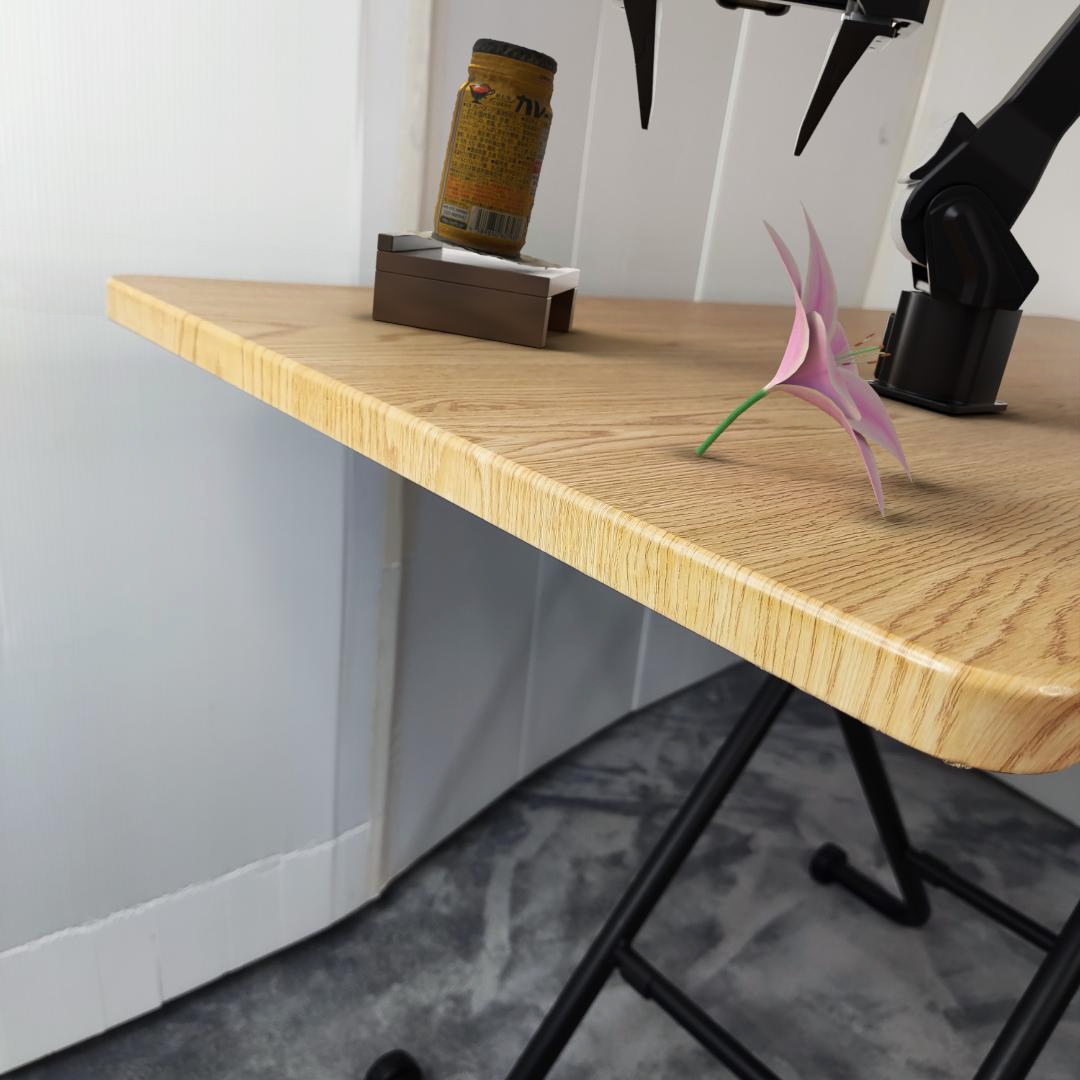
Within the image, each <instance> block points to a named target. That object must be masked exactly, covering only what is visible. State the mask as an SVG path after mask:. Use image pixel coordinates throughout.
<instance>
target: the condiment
mask: <svg viewBox="0 0 1080 1080" xmlns="http://www.w3.org/2000/svg"><path fill="white" fill-rule="evenodd" d="M557 72H558V62H557V61H556V59H555V58H554V57H552V56H550V55H548V54H546V53H544V52H540V51H538V50H535V49H532V48H528V47H526V46H521V45H518V44H514V43H511V42H507V41H504V40H496V39H492V38H484V37H483V38H478V39H477V40H476V41H475V42H474V44H473V45H472V53H471V58H470V64H469V65H468V66H467V74H468V76H467V77H468V78H467V80H465V82H464V83H463V84H462V85H461V86H460V87H459V89H458V91H457V94H456V100H455V103H454V110H453V112H452V120H451V122H450V132H449V136H448V141H447V147H446V149H445V157H444V161H443V168H442V171H441V177H440V183H439V184H438V186H439V190H438V193H437V201H436V204H435V207H434V213H433V232H432V234H429V233H421V232H422V231H419V230H416V229H415V230H412V229H406V228H405V229H403V228H402V229H400V230H402V231H405V232H410V233H413V234H416V235H419V236H421V237H424V238H427V239H430V240H433V241H436V242H440V243H443V244H445V245H447V246H451V247H453V248H454V247H456V248H461V249H463V250H464V251H467V252H472V253H477V254H479V255H484V256H491V257H497V258H499V259H500V260H506V261H510V262H513V263H517V264H520V265H526V266H532V267H544V268H545V270H546V269H548V268H557V269H560V268H566V267H567V266H562V265H561V264H558V263H553V262H552V263H551V262H549V261H547V260H545V259H541V258H538V257H533V256H531V255H527V254H523V253H521V251H522V249H523V248H524V246H525V245H526V242H527V241H526V239H527V234H528V231H529V229H528V228H529V225H530V223H531V217H532V212H533V208H534V205H535V198H536V194H537V190H538V187H539V181H540V176H541V171H542V167H543V162H544V160H545V155H546V150H547V146H548V140H549V136H550V131H551V126H552V122H553V118H554V111H553V108H552V106H551V101H552V97H553V95H554V94H553V93H554V87H555V85H554V81H555V75H556V74H557Z"/></svg>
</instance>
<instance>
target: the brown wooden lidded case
mask: <svg viewBox="0 0 1080 1080" xmlns="http://www.w3.org/2000/svg"><path fill="white" fill-rule="evenodd" d="M420 232H421V233H429V234H432V232H434V230H433V231H431V230H430V231H429V230H428V231H420ZM376 246H377V247H376V257H375V271H374V283H373V284H374V286H373V298H372V299H373V300H372V313H371V319H372V320H373V321H380V322H385V323H393V324H398V325H403V326H409V327H415V328H421V329H426V330H427V329H428V330H432V331H439V332H443V333H450V334H456V335H462V336H468V337H473V338H479V339H485V340H490V341H495V342H501V343H502V342H503V343H508V344H513V345H514V344H515V345H520V346H526V347H531V348H537V349H541V348H544V347H545V346H546V340H547V333H548V330H553V331H559V332H564V333H569V332H571V331H572V330H573V324H574V317H575V310H576V303H577V296H578V290H579V289H578V287H579V282H580V274H581V269H580V268H573V267H567V266H565V267H566V268H560V269H557V268H548V269H546V270H545V268H544V267H532V266H526V265H520V264H517V263H513V262H510V261H506V260H500V259H499V258H497V257H491V256H484V255H479V254H477V253H474V252H471V251H467V250H459V249H454V248H453V249H452V248H447V247H446V248H445V247H444V243H440V242H436V241H433V240H430V239H427V238H424V237H421V236H419V235H416V234H413V233H410V232H408V231H405V232H381V233H378V234H377V244H376Z"/></svg>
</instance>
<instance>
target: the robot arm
mask: <svg viewBox="0 0 1080 1080" xmlns="http://www.w3.org/2000/svg"><path fill="white" fill-rule="evenodd" d="M609 1H610V3H611V5H612V7H613V9H615V10H616V11H618V12H622V13H625V16H626V21H627V26H628V31H629V36H630V39H631V44H632V50H633V57H634V67H635V78H636V86H637V97H638V106H639V107H638V108H639V119H640V127H641V130H643V131H647V132H648V131H649V130H650V127H651V121H652V116H653V112H654V108H655V107H654V106H655V99H656V86H657V76H658V75H657V74H658V62H659V61H658V60H659V52H660V51H659V50H660V48H659V47H660V37H661V31H662V30H661V29H662V21H663V16H664V8H663V5H662V1H661V0H609ZM714 1H715V3H716V4H717V5H718V7H721V8H723V9H726V10H729V11H730V10H731V11H736V10H737V9H744V10H750V11H755V12H756V11H757V12H762V13H763V14H764V15H765V16H769V17H782V16H783V17H784V16H785V15H787V14H788V13H789V12H790V10H791V8H792V6H793V7H800V8H805V9H806V8H807V9H813V10H818V11H824V12H830V13H837V14H841V18H840V21H841V23H840V24H839V26H838V28H837V29H836V30H835V32H834V34H833V35H832V37H831V40H830V42H829V46H828V49H827V51H826V54H825V58H824V61H823V63H822V66H821V69H820V72H819V74H818V76H817V79H816V82H815V85H814V88H813V90H812V93H811V96H810V99H809V101H808V104H807V106H806V109H805V112H804V114H803V117H802V119H801V123H800V125H799V128H798V131H797V135H796V139H795V144H794V148H793V152H792V157H795V158H799V157H800V156H801V155H802V153H803V152H804V150H805V148H806V147H807V145H808V143H809V141H810V140H811V138H812V136H813V134H814V133H815V131H816V129H817V127H818V126H819V124H820V122H821V120H822V118H823V117H824V115H825V113H826V112H827V110H828V108H829V106H830V104H831V103H832V101H833V99H834V98H835V96H836V95H837V93H838V91H839V89H840V88H841V86H842V85H843V83H844V82H845V80H846V79H847V77H848V76H849V75H850V73H851V71H853V69H854V67H855V66H856V65H857V63H858V62H859V61H860V59H861V58H862V56H863V55H864V54H865V53H866V52H868V53H869V52H870V53H879V52H882V51H883V50H884V49H885V48H886V47H887V46H888V45H889V44H890V43H891V42H892V41H899V40H900V41H902V40H903V41H906V40H908V39H909V38H910V37H911V36H913V34H915V32H917V31H918V30H919V29H920V28H921V27H922V26H923V25H924V23H925V19H926V16H927V12H928V10H929V5H930V2H931V0H714ZM1079 118H1080V3H1079V4H1078V5H1077V7H1076V8H1075V9H1074V10H1073V12H1071V14H1070V15H1069V17H1068V18H1067V19H1066V20H1065V21H1064V22H1063V24H1062V25H1061V27H1060V28H1059V29H1058V30H1057V31H1056V32H1055V34H1053V36H1052V37H1051V39H1050V40H1049V41H1048V43H1046V45H1044V47H1043V49H1042V50H1041V51H1040V52H1039V53H1038V55H1037V56H1036V57H1035V58H1034V60H1033V61H1032V62H1030V64H1029V66H1028V67H1027V68H1026V69H1025V70H1024V71H1023V73H1022V74H1021V75H1020V76H1019V78H1018V79H1017V80H1016V82H1015V83H1013V85H1012V86H1011V88H1010V89H1009V90H1008V91H1007V93H1006V94H1005V95H1004V96H1003V98H1002V99H1001V100H1000V101H999V102H998V103H997V104H996V105H995V106H994V107H993V108H992V109H991V110H989V112H987V113H985V115H984V116H983V117H981V118H980V120H978V121H977V122H975V123H974V122H973V121H972V120H971V119H970V118H969V116H967V114H966V113H965V112H964V111H960V112H958V113H957V114H955V115H953V116H952V117H950V118H949V119H947V120H946V121H944V122H942V124H941V125H940V127H938V130H937V132H936V133H935V134H934V136H933V138H932V140H931V142H930V143H929V145H928V147H927V149H926V150H925V152H924V154H923V155H922V156H921V158H920V159H919V161H918V162H917V163H916V164H915V165H914V166H913V167H912V168H911V169H909V170H908V171H907V172H905V173H903V174H902V175H900V176H898V177H897V179H896V183H897V184H899V185H905V187H903V189H901V191H900V193H899V195H898V197H897V198H896V200H895V201H894V203H893V205H892V208H891V210H890V216H889V227H890V236H891V239H892V241H893V244H894V245H895V248H896V249H897V250H898V251H899V253H901V255H902V256H903V257H904V258H905V259H906V260H908V261H909V262H910V272H911V282H912V288H913V289H914V290H908V289H901V290H900V293H899V298H898V302H897V305H896V310H895V311H894V312H891V313H890V314H889V315H888V316H887V317H888V318H887V321H886V325H885V329H884V332H883V336H882V340H881V344H882V345H883V346H884V347H883V349H879V352H884V353H885V354H888V353H890V355H889V356H881V355H882V354H878V356H877V360H876V361H877V363H875V368H874V371H873V377H874V379H865V380H866V381H867V383H868V384H869V385H870V386H871V387H872V388H873V390H874V391H875V392H876V393H877V394H882V395H886V396H889V397H893V398H896V399H899V400H903V401H907V402H910V403H913V404H917V405H920V406H924V407H928V408H931V409H935V410H937V411H941V412H946V413H949V414H969V413H971V414H972V413H988V412H989V413H991V412H1006V411H1007V410H1008V406H1009V403H1007V402H1004V401H1001V400H997V398H998V394H999V390H1000V387H1001V385H1002V381H1003V378H1004V374H1005V371H1006V368H1007V365H1008V361H1009V358H1010V355H1011V351H1012V349H1013V345H1014V342H1015V339H1016V335H1017V332H1018V328H1019V326H1020V322H1021V319H1022V316H1023V313H1024V309H1023V308H1021V307H1022V305H1023V304H1024V302H1025V301H1026V300H1027V299H1028V297H1029V296H1030V294H1031V293H1032V292H1033V290H1034V289H1035V287H1036V286H1037V284H1038V283H1039V281H1040V274H1039V273H1038V271H1037V270H1036V268H1035V266H1034V265H1033V263H1032V262H1031V260H1030V259H1029V257H1028V255H1027V254H1026V252H1025V251H1024V250H1023V248H1022V246H1021V245H1020V243H1019V242H1018V240H1017V239H1016V237H1015V236H1014V234H1013V232H1012V231H1011V230H1012V228H1013V227H1014V225H1015V223H1016V222H1017V220H1018V219H1019V218H1020V216H1021V214H1022V212H1023V211H1024V209H1025V207H1026V206H1027V204H1028V203H1029V201H1031V198H1032V197H1033V195H1034V193H1035V191H1036V189H1037V188H1038V186H1039V184H1040V181H1041V179H1042V177H1043V175H1044V173H1045V171H1046V170H1047V168H1048V165H1049V163H1050V161H1051V159H1052V157H1053V155H1054V153H1055V151H1056V150H1057V147H1058V145H1059V144H1060V142H1061V140H1062V139H1063V137H1064V136H1065V134H1066V133H1067V132H1068V131H1069V129H1071V128H1072V127H1073V125H1074V124H1075V123H1076V122H1077V121H1078V119H1079Z"/></svg>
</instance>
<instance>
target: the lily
mask: <svg viewBox="0 0 1080 1080" xmlns="http://www.w3.org/2000/svg"><path fill="white" fill-rule="evenodd" d="M799 203H800V207H801V210H802V213H803V216H804V219H805V224H806V226H807V232H808V241H809V242H808V244H809V246H808V247H809V252H808V254H809V255H808V264H807V270H806V271H807V272H806V277H805V285H804V289H803V280H802V277H801V273H800V268H799V266H798V263H797V262H796V260H795V257H794V256H793V253H791V251H790V249H789V248H788V246H787V245H786V243H785V241H784V240H783V239H782V237H781V236H780V235H779V233H778V232H777V231H776V230H775V228H774V227H773V226H772V225H771V224H770V223H769V222H768V221H766V220H763V219H762V223H763V224H764V227H765V229H766V230H767V233H768V235H769V237H770V239H771V241H772V243H773V246H774V248H775V250H776V252H777V254H778V257H779V258H780V260H781V262H782V264H783V267H784V270H785V272H786V273H787V276H788V278H789V281H790V285H791V286H792V291H793V294H794V302H795V317H794V322H793V327H792V330H791V334H790V337H789V340H788V343H787V347H786V350H785V352H784V355H783V358H782V361H781V363H780V365H779V368H778V370H777V372H776V374H775V376H774V377H773V378H772V380H771V381H770V382H769V383H767V384H766V385H764V387H763V388H760V389H759V390H758V391H757V392H755V393H754V394H752V395H751V396H749V398H747V399H746V400H745V401H743V403H741V404H740V405H738V407H736V408H735V409H734V410H733V411H732V412H731V413H730V414H729V415H728V416H727V417H726V418H725V419H724V420H722V422H721V423H720V424H719V425H718V426H717V427H716V428H715V429H714V430H713V431H712V433H711V434H710V435H708V437H707V438H706V439H705V440H704V441H703V442H702V443H701V444H700V446H698V448H697V449H696V450H695V453H696V454H697V455H698V456H700V457H702V455H704V453H705V452H707V450H708V449H709V448H710V447H711V446H712V445H713V444H714V443H715V441H716V440H717V439H718V438H719V437H720V436H721V435H722V434H723V433H724V432H725V431H726V430H727V429H728V428H729V426H731V425H732V424H733V423H734V422H735V420H737V419H738V418H739V417H740V416H741V415H742V414H744V412H746V411H747V410H748V409H750V408H751V407H752V406H753V405H754V404H756V403H758V402H759V401H761V400H762V399H764V398H765V397H766V396H769V395H770V394H772V393H775V392H784V393H787V394H790V395H792V396H793V397H797V398H798V399H800V400H803V401H804V402H807V403H809V404H811V405H812V406H814V407H816V408H818V409H819V410H821V411H822V412H824V413H825V414H827V415H828V416H830V417H831V418H832V419H833V420H835V421H836V423H838V424H839V425H840V426H841V427H842V428H843V429H844V430H845V431H846V432H847V435H849V437H850V438H851V439H852V441H853V442H854V444H855V446H856V448H857V450H858V452H859V454H860V457H861V459H862V461H863V463H864V467H865V470H866V472H867V475H868V478H869V481H870V483H871V486H872V490H873V492H874V495H875V499H876V502H877V504H878V507H879V511H880V513H881V517H882V518H884V517H885V500H884V494H883V486H882V482H881V478H880V472H879V468H878V464H877V461H876V459H875V456H874V455H875V454H874V452H873V450H872V449H871V447H870V445H869V443H868V441H867V439H869V440H870V441H872V442H873V443H875V444H877V445H878V446H880V447H881V448H882V449H884V450H886V451H887V452H888V453H890V455H892V456H893V458H895V459H896V460H897V461H898V462H899V463H900V464H901V466H902V467H903V469H904V470H905V473H906V474H907V476H908V479H909V480H910V481H911V483H913V480H912V476H911V472H910V467H909V465H908V461H907V458H906V455H905V452H904V449H903V447H902V444H901V440H900V439H899V435H898V433H897V430H896V428H895V425H894V423H893V420H892V419H891V415H890V414H889V411H888V410H887V408H886V407H885V404H884V403H883V401H882V400H881V398H880V396H879V393H878V392H875V391H874V390H873V388H872V387H871V386H870V385H869V384H868V383H867V381H866V380H867V379H865V378H863V377H861V376H860V375H859V369H858V364H860V363H867V364H868V365H872V364H876V363H877V360H872V359H866V360H858V361H856V359H860V358H863V357H867V356H871V355H879V354H882V355H881V356H889V355H890V353H888V354H885V353H884V352H880V351H879V352H873V351H876V350H880V349H883V347H884V346H883V345H882V343H880V344H879V345H876V346H872V347H868V348H864V349H860V350H857V351H853V350H854V349H856V348H857V347H859V346H861V345H863V344H864V343H866V342H868V341H869V340H871V338H872V337H873V336H875V333H874V332H873V333H871V334H869V335H868V336H866V337H865V340H863V341H859V342H857V343H855V344H854V345H853V346H852V347H851V346H850V343H849V341H848V338H847V335H846V332H845V330H844V329H845V328H843V326H842V324H841V322H840V321H839V320H838V316H839V303H838V302H839V301H838V291H837V288H836V287H837V286H836V283H835V278H834V275H833V270H832V267H831V265H830V262H829V259H828V257H827V254H826V251H825V249H824V246H823V244H822V242H821V239H820V237H819V235H818V232H817V231H816V228H815V226H814V224H813V222H812V220H811V217H810V216H809V214H808V212H807V210H806V207H804V204H803V202H802V201H801V200H799ZM802 292H803V293H802ZM802 294H803V295H802ZM869 352H870V353H869ZM864 353H866V354H864ZM860 354H861V355H860ZM856 355H857V356H856ZM865 437H866V438H865Z"/></svg>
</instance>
